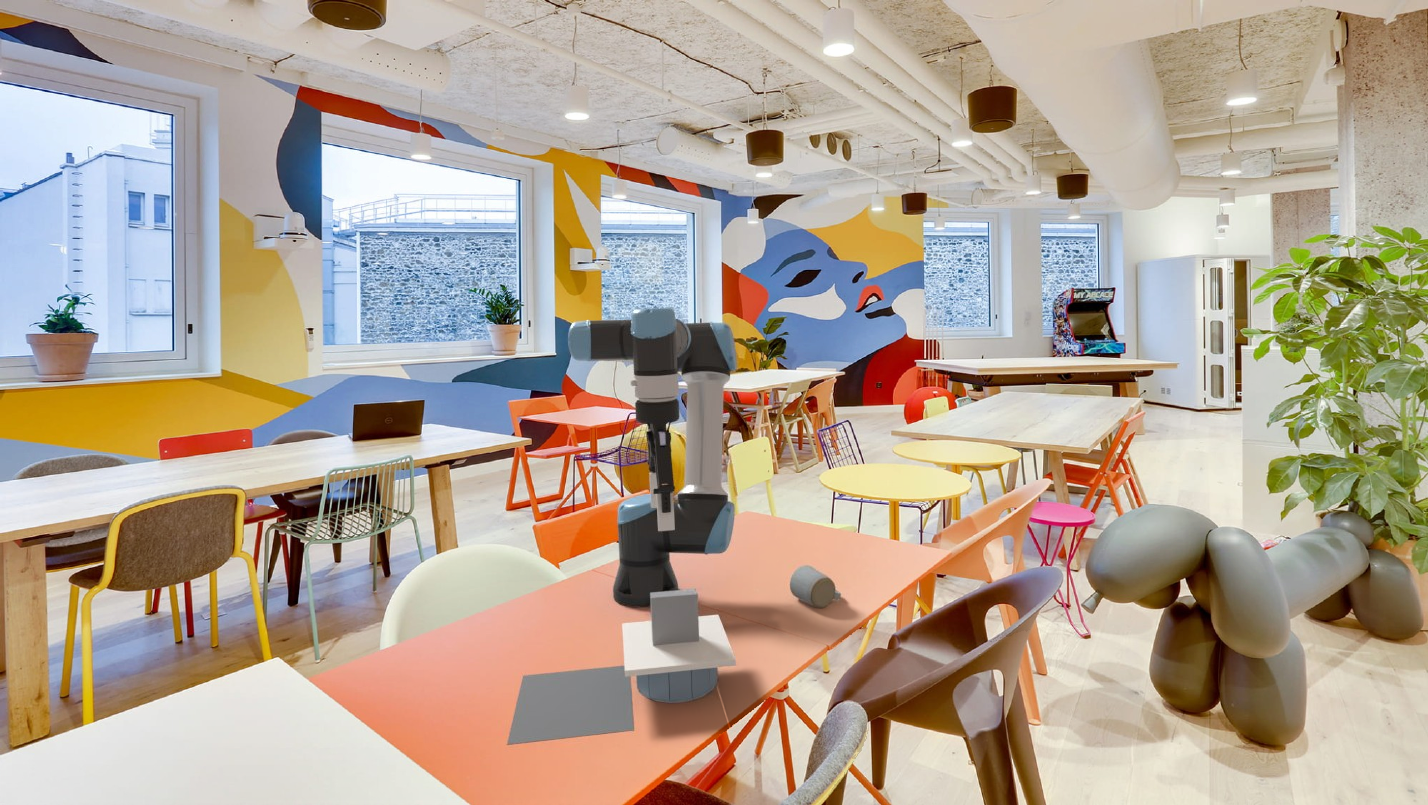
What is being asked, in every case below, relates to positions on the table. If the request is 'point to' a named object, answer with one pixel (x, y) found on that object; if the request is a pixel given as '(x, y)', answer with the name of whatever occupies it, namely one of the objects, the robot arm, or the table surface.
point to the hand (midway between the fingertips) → (662, 518)
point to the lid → (675, 637)
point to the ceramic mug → (813, 587)
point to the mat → (572, 705)
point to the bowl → (678, 685)
